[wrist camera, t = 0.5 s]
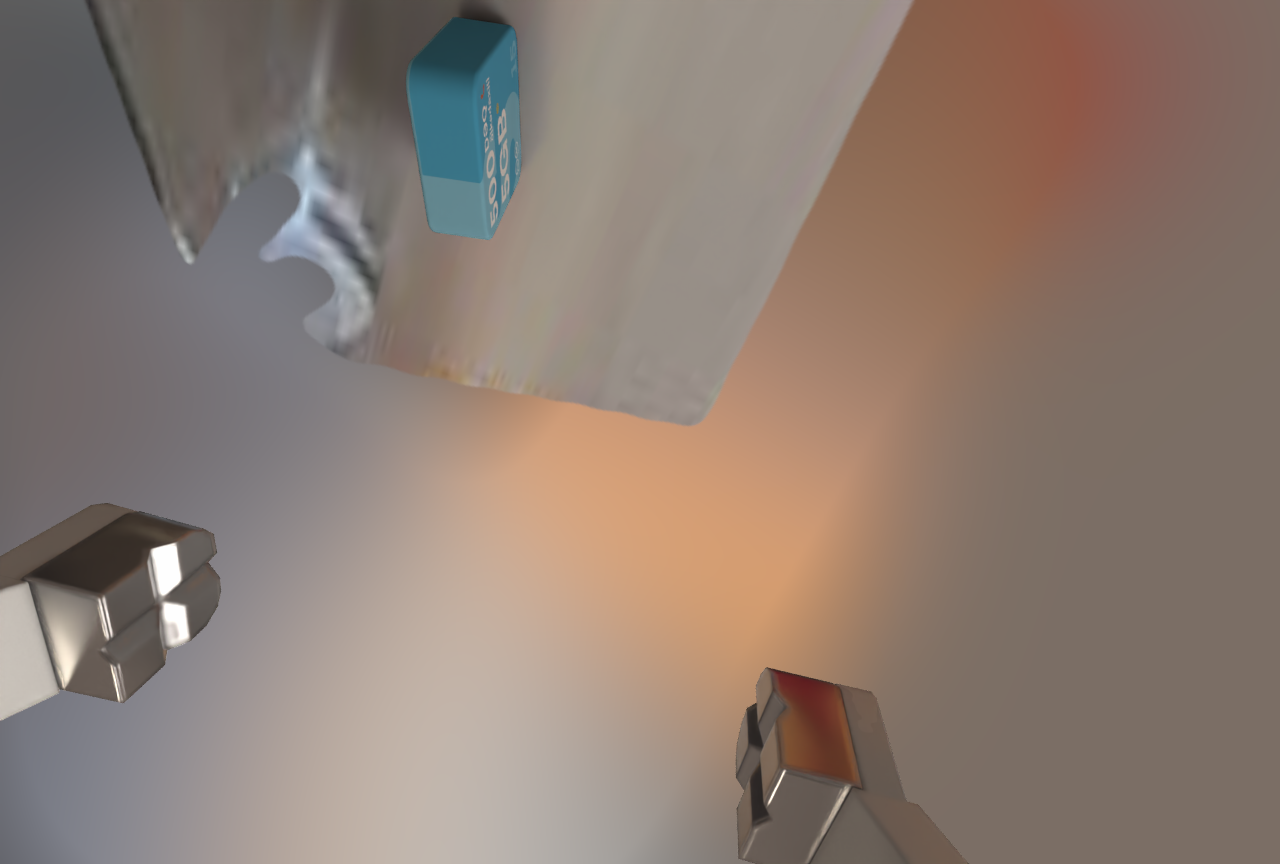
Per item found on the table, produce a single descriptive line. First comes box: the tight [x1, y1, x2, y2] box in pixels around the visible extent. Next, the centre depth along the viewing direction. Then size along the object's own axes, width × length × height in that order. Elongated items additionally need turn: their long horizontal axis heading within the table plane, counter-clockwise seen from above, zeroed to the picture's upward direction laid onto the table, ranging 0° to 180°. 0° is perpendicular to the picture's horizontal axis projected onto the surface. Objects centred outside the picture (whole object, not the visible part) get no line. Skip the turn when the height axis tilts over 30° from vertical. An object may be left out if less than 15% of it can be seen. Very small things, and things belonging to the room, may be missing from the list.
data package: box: [406, 17, 521, 240], centre depth 47 cm, size 12×4×12 cm, turn 174°
